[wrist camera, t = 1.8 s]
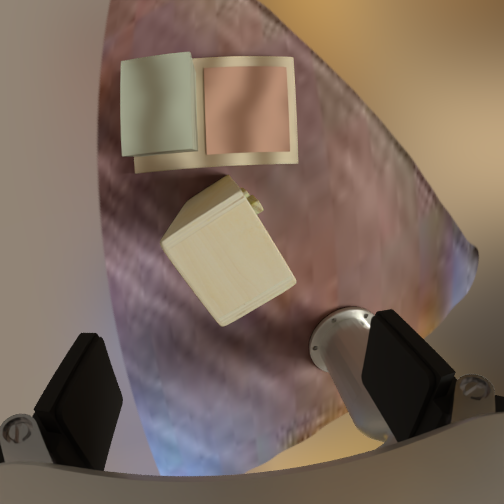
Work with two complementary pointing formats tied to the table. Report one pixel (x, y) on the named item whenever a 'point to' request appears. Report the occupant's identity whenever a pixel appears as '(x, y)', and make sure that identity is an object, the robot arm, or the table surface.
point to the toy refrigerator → (226, 252)
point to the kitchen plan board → (207, 111)
